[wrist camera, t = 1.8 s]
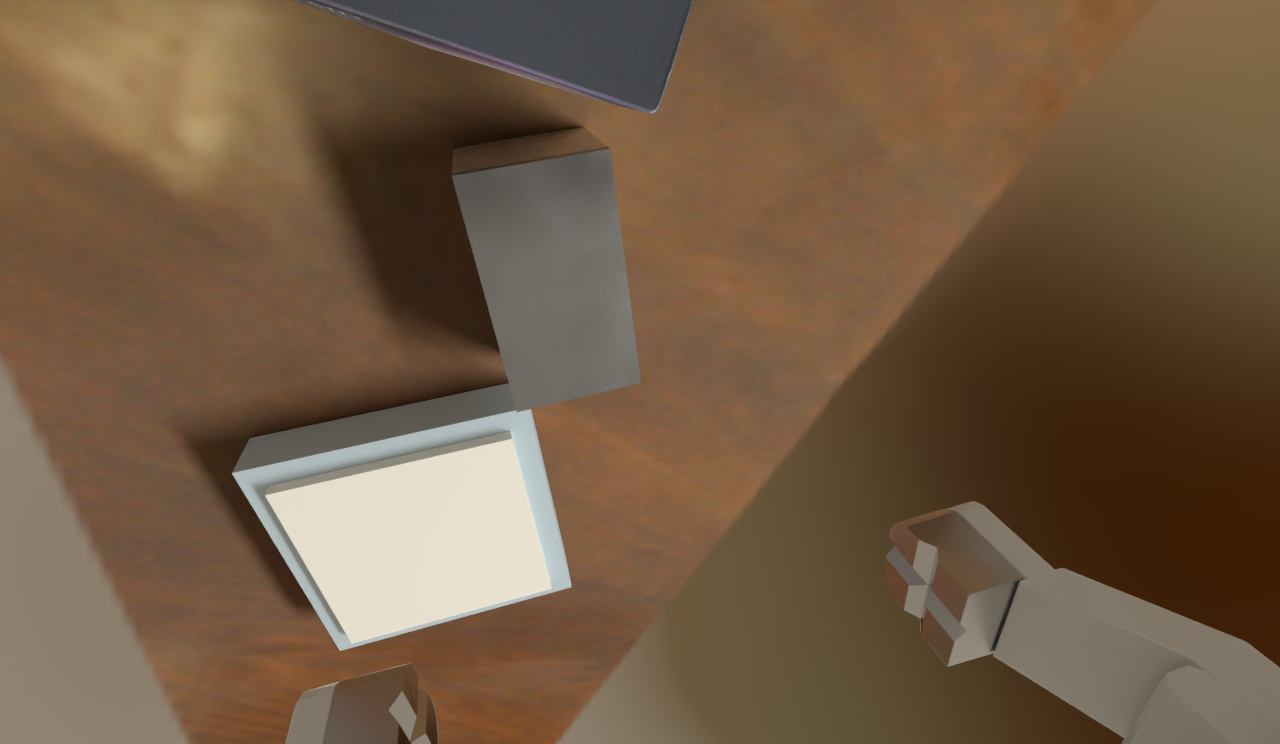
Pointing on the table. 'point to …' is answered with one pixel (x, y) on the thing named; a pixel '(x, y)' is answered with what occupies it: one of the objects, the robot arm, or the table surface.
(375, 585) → the stand
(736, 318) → the table surface
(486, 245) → the block
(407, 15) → the small box
